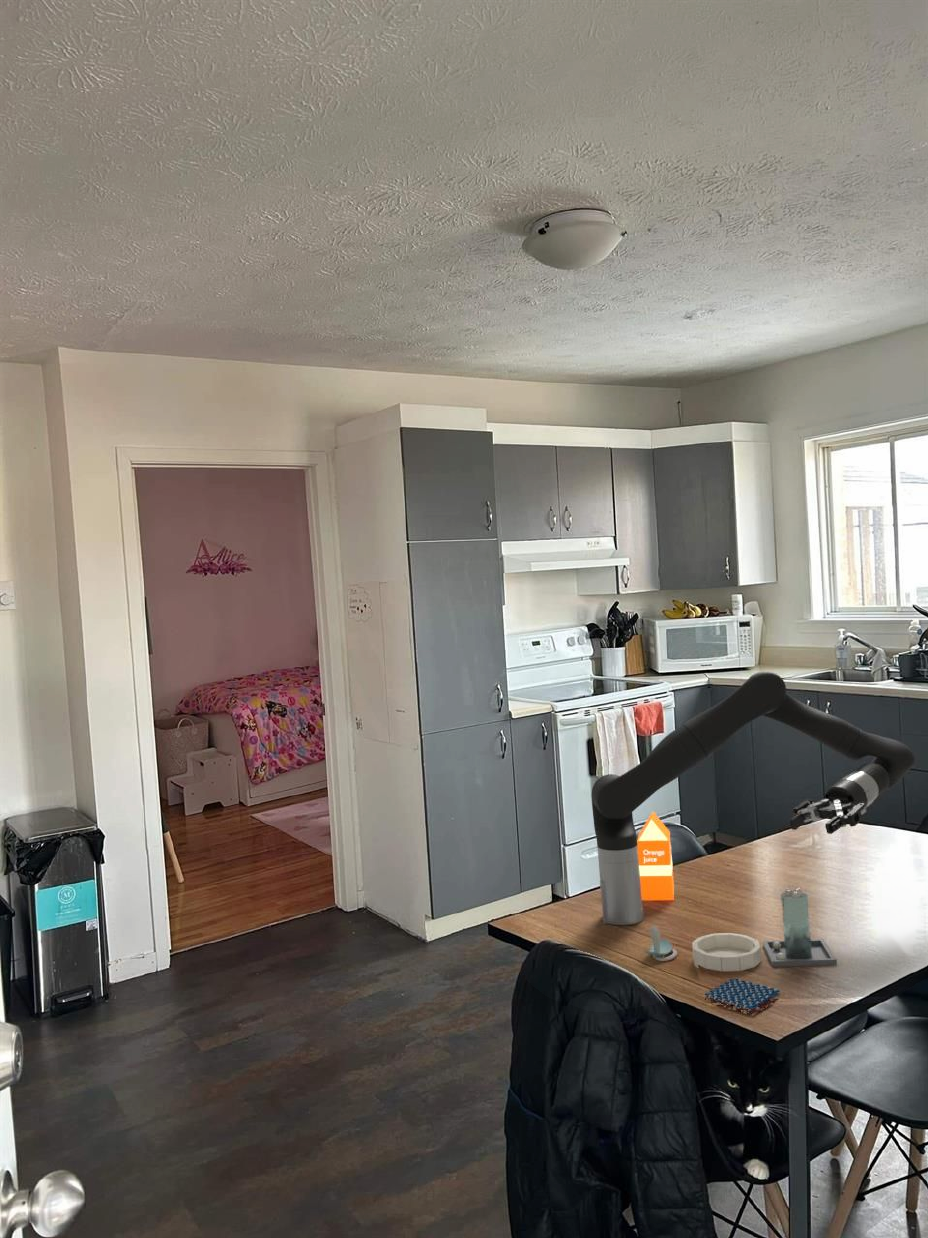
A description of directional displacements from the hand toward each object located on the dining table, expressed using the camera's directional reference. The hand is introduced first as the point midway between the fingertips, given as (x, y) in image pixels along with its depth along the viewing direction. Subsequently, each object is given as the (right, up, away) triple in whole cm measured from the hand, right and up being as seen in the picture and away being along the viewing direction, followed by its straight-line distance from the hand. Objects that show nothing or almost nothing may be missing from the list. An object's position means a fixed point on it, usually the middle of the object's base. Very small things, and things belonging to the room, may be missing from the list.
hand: (809, 827), depth 197 cm
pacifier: (-30, -27, +2) cm, 40 cm away
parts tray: (-4, -25, -5) cm, 26 cm away
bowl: (-18, -26, -4) cm, 32 cm away
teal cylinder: (-4, -24, -6) cm, 25 cm away
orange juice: (-22, -26, +42) cm, 54 cm away
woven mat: (-20, -27, -22) cm, 40 cm away
